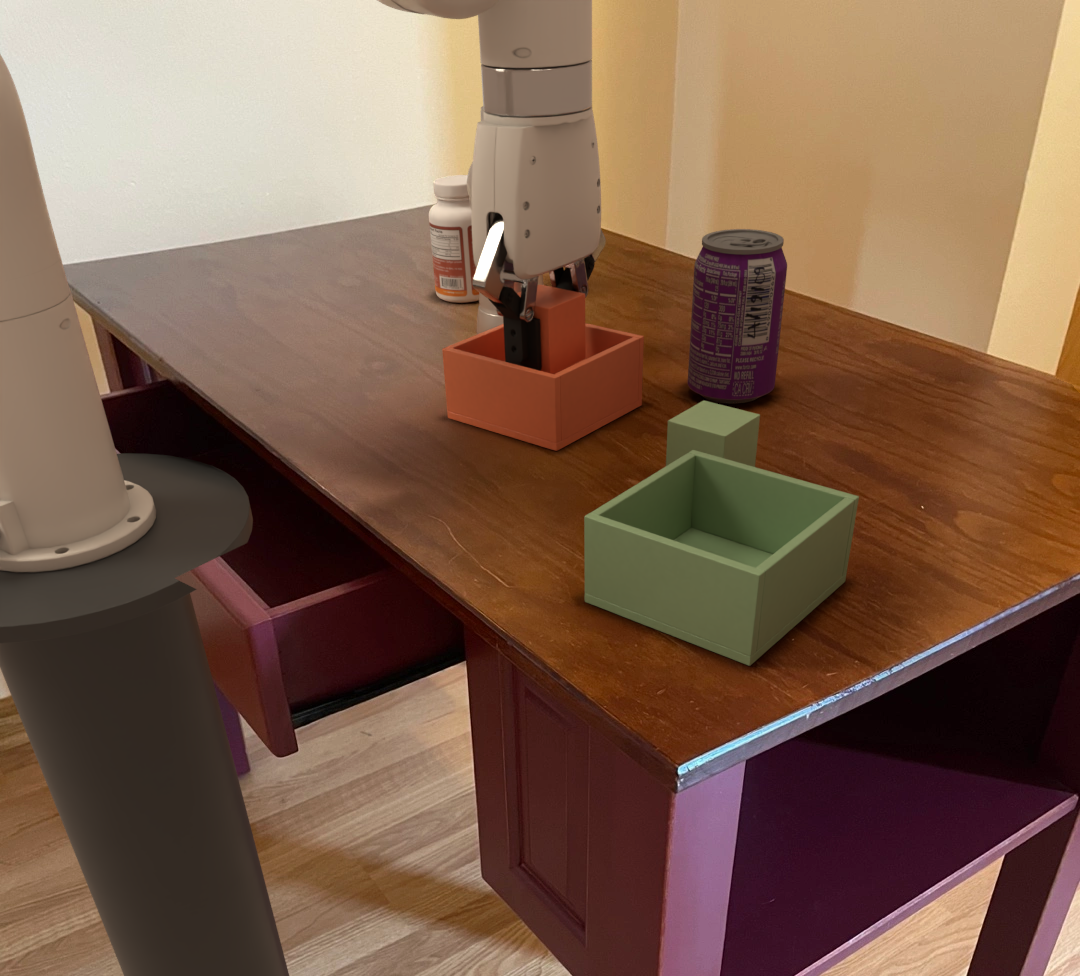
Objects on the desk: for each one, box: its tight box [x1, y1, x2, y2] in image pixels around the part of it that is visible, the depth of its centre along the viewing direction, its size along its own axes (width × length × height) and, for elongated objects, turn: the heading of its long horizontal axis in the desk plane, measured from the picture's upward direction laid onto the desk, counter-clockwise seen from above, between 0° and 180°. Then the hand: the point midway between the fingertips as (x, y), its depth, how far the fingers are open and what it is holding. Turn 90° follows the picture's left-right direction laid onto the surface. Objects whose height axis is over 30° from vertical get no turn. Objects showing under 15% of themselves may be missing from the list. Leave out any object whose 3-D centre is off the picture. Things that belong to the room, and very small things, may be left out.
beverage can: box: [687, 228, 788, 405], centre depth 86 cm, size 7×7×12 cm
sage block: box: [665, 400, 761, 467], centre depth 74 cm, size 4×4×5 cm
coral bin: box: [441, 322, 645, 452], centre depth 86 cm, size 11×11×6 cm
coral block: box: [517, 284, 586, 374], centre depth 84 cm, size 4×4×5 cm
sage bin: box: [583, 450, 860, 667], centre depth 63 cm, size 11×11×6 cm
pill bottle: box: [428, 174, 479, 304], centre depth 110 cm, size 6×6×11 cm
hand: (545, 356), depth 85 cm, fingers closed on coral block, 4 cm apart
